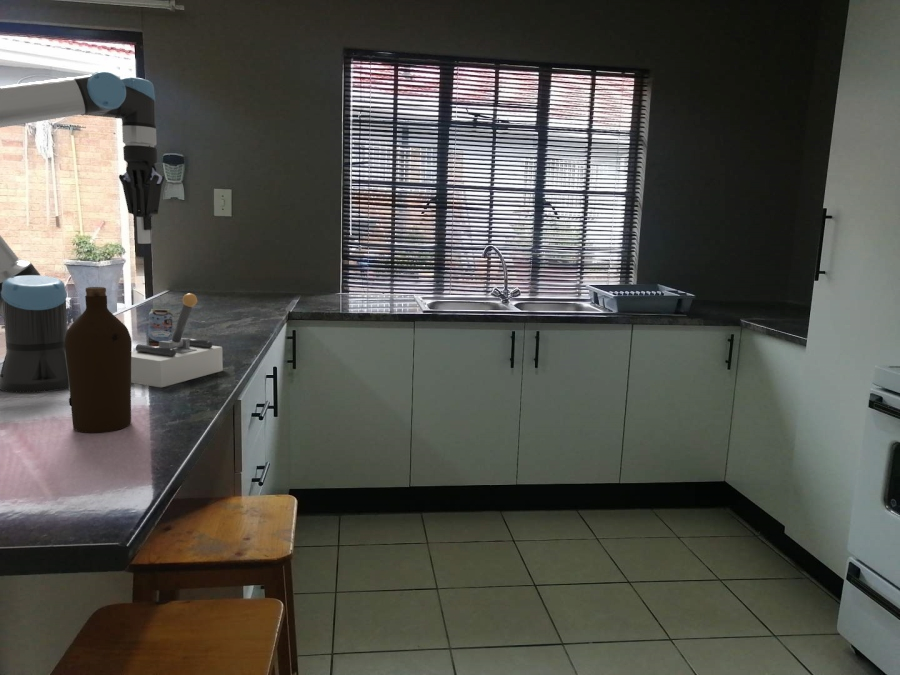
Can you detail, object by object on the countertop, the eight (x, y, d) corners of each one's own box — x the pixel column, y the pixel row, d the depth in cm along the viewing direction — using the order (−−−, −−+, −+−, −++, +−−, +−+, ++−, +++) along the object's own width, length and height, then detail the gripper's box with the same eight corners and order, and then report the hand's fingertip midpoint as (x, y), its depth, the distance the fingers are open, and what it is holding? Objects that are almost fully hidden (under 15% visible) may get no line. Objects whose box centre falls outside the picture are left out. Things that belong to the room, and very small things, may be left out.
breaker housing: (161, 387, 150) (159, 350, 149) (117, 380, 155) (115, 344, 154) (222, 370, 169) (222, 337, 167) (181, 364, 173) (181, 332, 172)
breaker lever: (172, 351, 160) (191, 298, 155) (162, 345, 161) (181, 291, 156) (183, 349, 163) (202, 296, 159) (174, 342, 164) (192, 290, 159)
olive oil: (145, 418, 128) (139, 286, 124) (117, 435, 117) (110, 292, 113) (89, 415, 128) (81, 283, 124) (56, 433, 117) (47, 289, 113)
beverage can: (146, 353, 185) (145, 310, 183) (151, 348, 192) (149, 306, 190) (171, 353, 187) (170, 310, 185) (174, 348, 194) (173, 306, 192)
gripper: (172, 147, 166) (175, 244, 170) (133, 147, 171) (137, 241, 175) (147, 143, 159) (151, 244, 163) (107, 144, 165) (112, 242, 169)
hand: (144, 243), depth 169 cm, fingers closed
